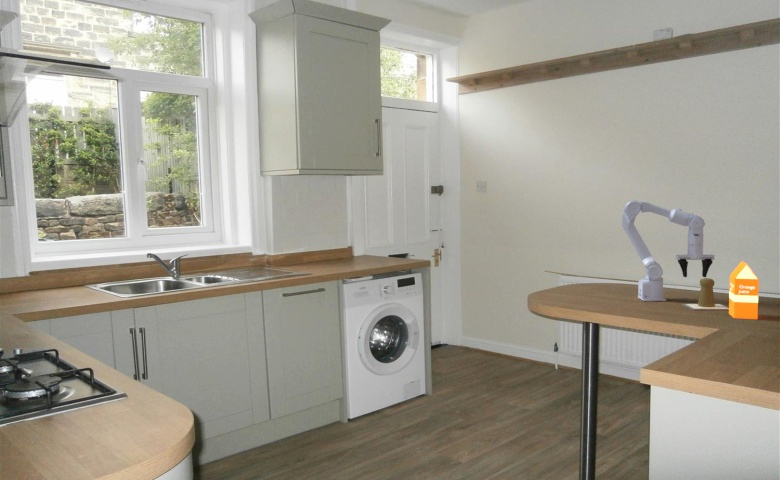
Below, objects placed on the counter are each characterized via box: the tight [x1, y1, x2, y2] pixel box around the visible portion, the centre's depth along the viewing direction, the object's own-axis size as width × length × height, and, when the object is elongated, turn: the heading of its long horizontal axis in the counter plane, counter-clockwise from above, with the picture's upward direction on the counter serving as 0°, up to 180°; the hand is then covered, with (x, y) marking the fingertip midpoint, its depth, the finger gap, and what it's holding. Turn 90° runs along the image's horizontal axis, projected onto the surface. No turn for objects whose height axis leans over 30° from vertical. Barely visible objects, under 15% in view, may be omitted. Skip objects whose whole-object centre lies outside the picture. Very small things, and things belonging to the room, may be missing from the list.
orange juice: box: [728, 261, 760, 320], centre depth 217 cm, size 8×9×20 cm
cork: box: [697, 277, 716, 307], centre depth 235 cm, size 6×6×11 cm
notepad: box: [681, 303, 729, 311], centre depth 235 cm, size 15×11×1 cm
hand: (694, 276), depth 247 cm, fingers open, 7 cm apart
